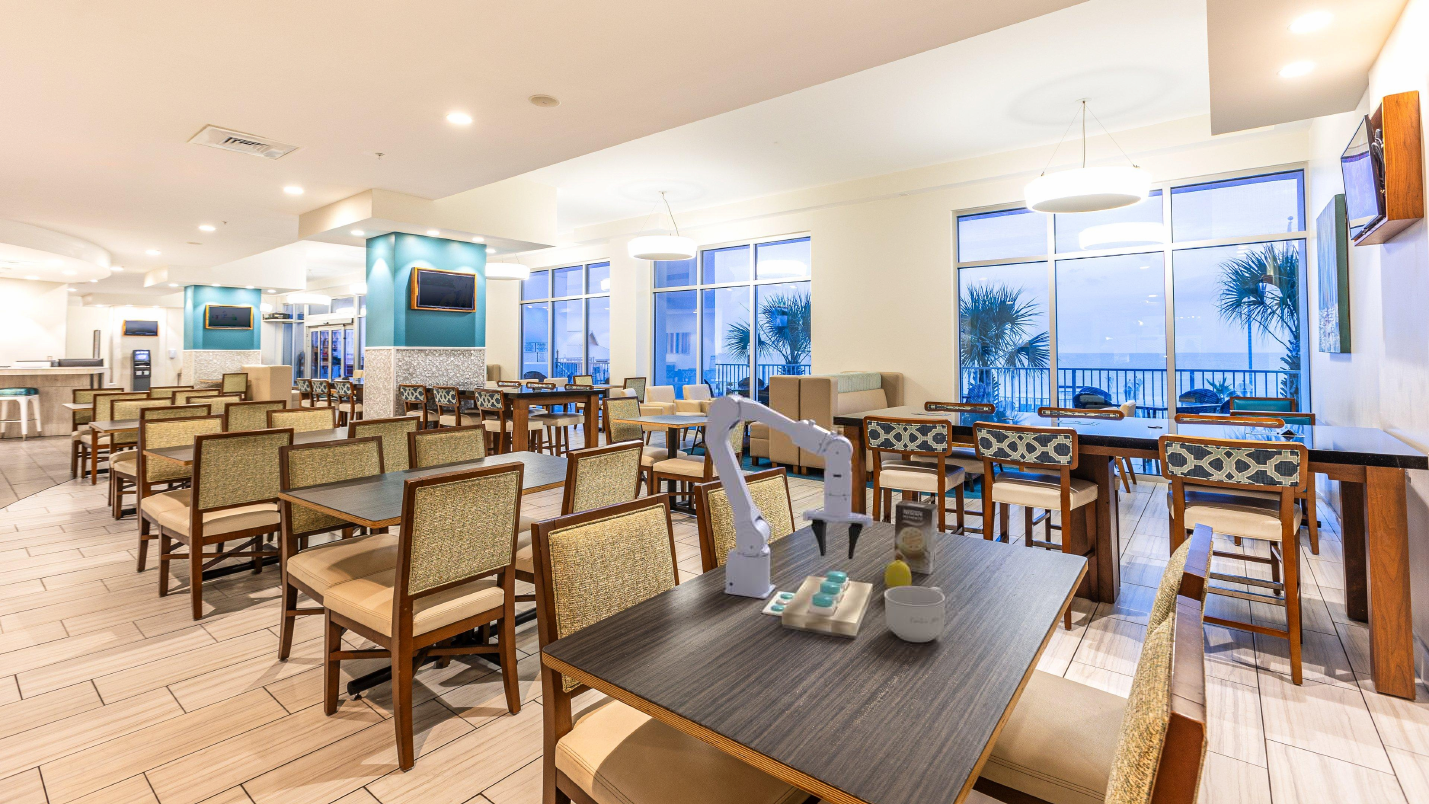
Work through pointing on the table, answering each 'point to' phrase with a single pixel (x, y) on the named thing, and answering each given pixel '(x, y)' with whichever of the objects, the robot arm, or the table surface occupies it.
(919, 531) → the coffee box
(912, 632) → the teacup
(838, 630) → the button board
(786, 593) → the card
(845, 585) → the button far
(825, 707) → the table surface
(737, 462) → the robot arm
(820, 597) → the button near
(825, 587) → the button mid
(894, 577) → the lemon
